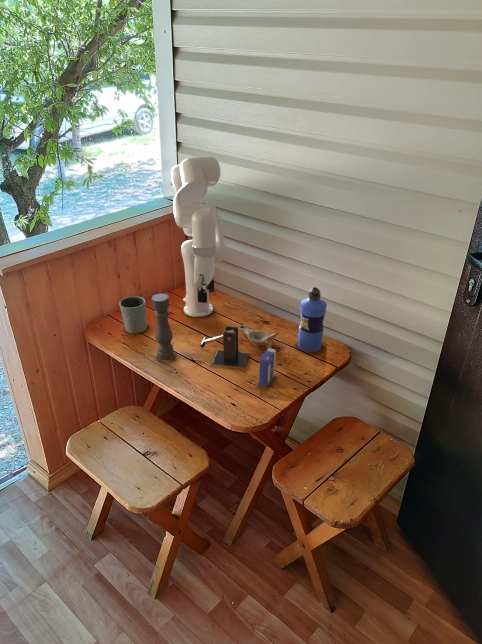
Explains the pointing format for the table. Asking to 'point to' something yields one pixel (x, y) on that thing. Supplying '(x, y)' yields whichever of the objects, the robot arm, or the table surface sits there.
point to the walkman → (267, 367)
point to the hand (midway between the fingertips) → (206, 295)
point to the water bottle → (311, 321)
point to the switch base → (231, 350)
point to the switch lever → (213, 339)
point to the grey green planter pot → (134, 314)
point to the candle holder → (163, 327)
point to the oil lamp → (258, 336)
